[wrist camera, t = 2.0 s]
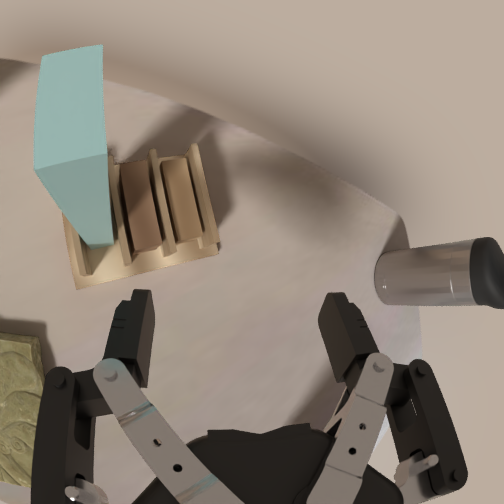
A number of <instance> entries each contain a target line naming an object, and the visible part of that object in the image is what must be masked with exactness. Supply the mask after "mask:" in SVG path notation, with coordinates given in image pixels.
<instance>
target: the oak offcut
mask: <svg viewBox="0 0 504 504" xmlns="http://www.w3.org/2000/svg"><path fill="white" fill-rule="evenodd" d="M159 168H160V174H161V179H162V184H163V189H164V194H165V199H166V204H167V208H168V213H169V218H170V222H171V227H172V231H173V235H174V240H175V244H176V245H178V244H182V243H187V242H191V241H194V240H196V239H197V238H199V237H201V236H203V232H202V228H201V224H200V220H199V215H198V211H197V207H196V203H195V198H194V194H193V189H192V185H191V180H190V176H189V171H188V167H187V162H186V158H180V159H173V160H166V161H161V163H160V166H159Z"/></svg>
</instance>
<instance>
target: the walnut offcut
mask: <svg viewBox="0 0 504 504" xmlns="http://www.w3.org/2000/svg"><path fill="white" fill-rule="evenodd" d="M119 187H120V193H121V199H122V205H123V210H124V216H125V221H126V226H127V231H128V236H129V241H130V245H131V250H132V254H133V255H135V254H139V253H144V252H148V251H152V250H156V249H157V248H158V247H159V246H160V245H161V244H162V239H161V235H160V231H159V226H158V221H157V217H156V212H155V207H154V202H153V197H152V192H151V186H150V181H149V176H148V170H147V164H146V160H140V161H134V162H128V163H123V164H120V168H119Z"/></svg>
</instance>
